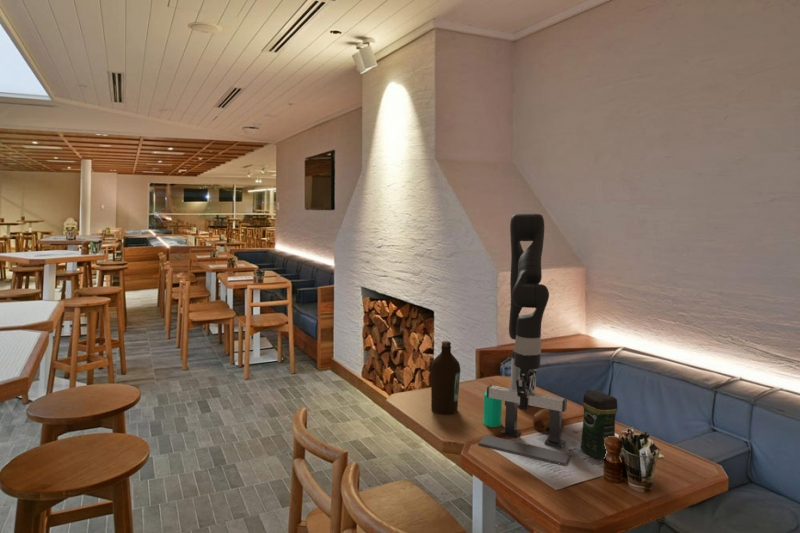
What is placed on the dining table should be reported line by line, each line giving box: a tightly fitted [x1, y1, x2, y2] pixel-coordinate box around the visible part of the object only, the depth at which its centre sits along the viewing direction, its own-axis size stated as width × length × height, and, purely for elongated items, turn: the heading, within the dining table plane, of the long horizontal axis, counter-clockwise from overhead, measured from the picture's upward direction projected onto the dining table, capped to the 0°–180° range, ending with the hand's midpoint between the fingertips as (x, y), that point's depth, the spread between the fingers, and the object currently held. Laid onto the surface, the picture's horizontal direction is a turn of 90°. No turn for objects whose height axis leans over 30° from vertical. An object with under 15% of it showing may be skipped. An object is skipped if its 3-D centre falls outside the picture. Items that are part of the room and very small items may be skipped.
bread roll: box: [532, 408, 565, 434], centre depth 174 cm, size 10×10×8 cm
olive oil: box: [430, 340, 461, 415], centre depth 188 cm, size 11×11×25 cm
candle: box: [482, 390, 503, 428], centre depth 176 cm, size 6×6×12 cm
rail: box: [486, 384, 568, 413], centre depth 155 cm, size 3×23×3 cm, turn 61°
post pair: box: [500, 387, 566, 449], centre depth 165 cm, size 6×19×14 cm, turn 61°
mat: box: [478, 434, 571, 466], centre depth 157 cm, size 7×26×1 cm, turn 61°
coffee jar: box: [580, 389, 618, 460], centre depth 155 cm, size 10×8×19 cm
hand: (525, 407), depth 156 cm, fingers closed on rail, 3 cm apart
